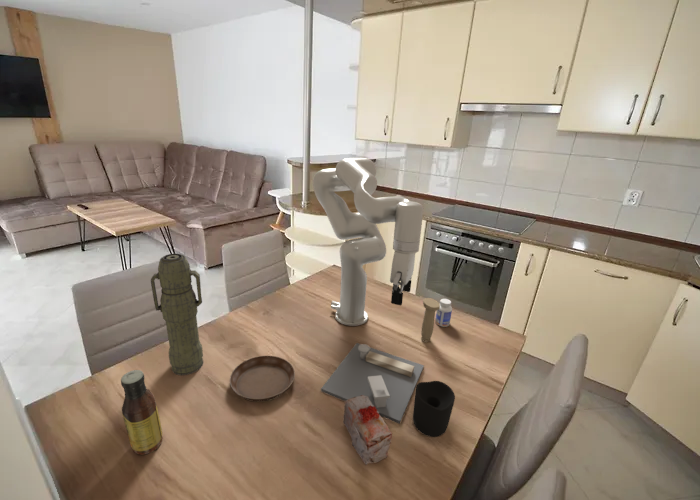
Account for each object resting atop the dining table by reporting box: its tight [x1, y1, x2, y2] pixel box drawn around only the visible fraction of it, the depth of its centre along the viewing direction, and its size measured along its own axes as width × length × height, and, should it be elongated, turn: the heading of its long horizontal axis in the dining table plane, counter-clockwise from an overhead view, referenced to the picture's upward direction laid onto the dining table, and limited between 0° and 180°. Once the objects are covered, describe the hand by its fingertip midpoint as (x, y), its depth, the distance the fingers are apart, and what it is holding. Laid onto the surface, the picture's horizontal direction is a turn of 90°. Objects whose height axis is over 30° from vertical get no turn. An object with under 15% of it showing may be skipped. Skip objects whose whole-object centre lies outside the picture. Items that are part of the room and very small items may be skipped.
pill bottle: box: [434, 298, 453, 328], centre depth 130 cm, size 5×5×10 cm
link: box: [366, 351, 414, 377], centre depth 105 cm, size 15×3×2 cm, turn 65°
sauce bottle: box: [120, 369, 164, 456], centre depth 74 cm, size 7×6×20 cm
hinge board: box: [320, 342, 425, 425], centre depth 101 cm, size 23×24×5 cm
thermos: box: [150, 253, 204, 376], centre depth 96 cm, size 9×12×35 cm
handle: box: [420, 297, 440, 343], centre depth 119 cm, size 5×6×15 cm
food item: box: [342, 395, 393, 466], centre depth 80 cm, size 14×8×10 cm, turn 26°
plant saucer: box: [229, 355, 296, 403], centre depth 97 cm, size 18×18×3 cm
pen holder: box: [412, 380, 456, 438], centre depth 86 cm, size 9×9×10 cm
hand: (400, 297), depth 105 cm, fingers open, 9 cm apart
